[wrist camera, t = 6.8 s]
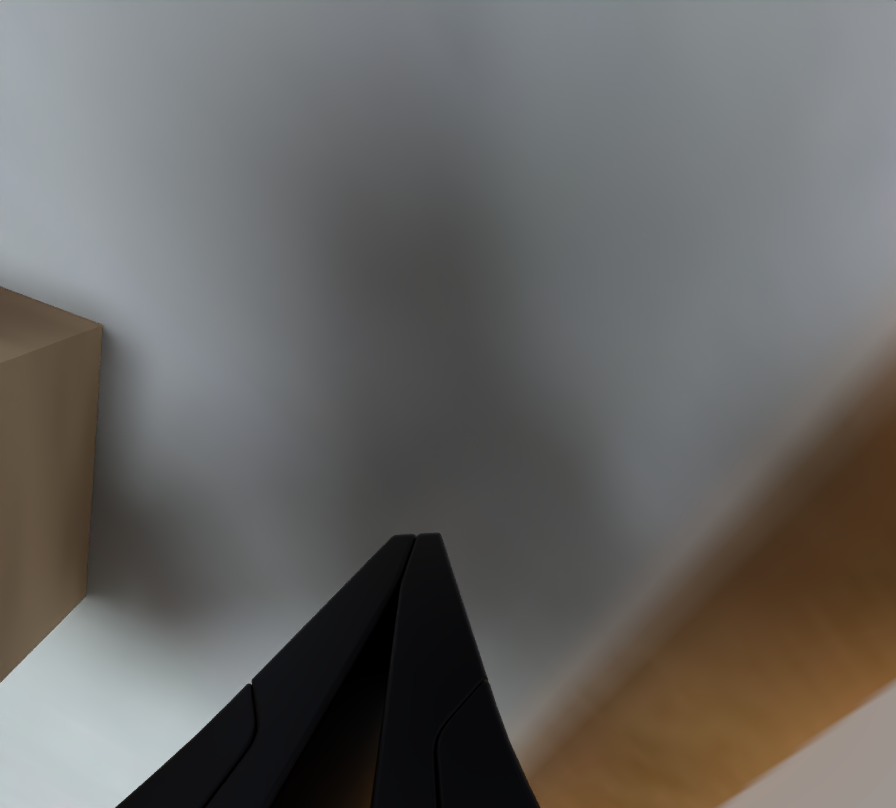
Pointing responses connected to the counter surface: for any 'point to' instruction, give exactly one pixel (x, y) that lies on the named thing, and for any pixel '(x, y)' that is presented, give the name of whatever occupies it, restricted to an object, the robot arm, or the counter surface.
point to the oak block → (44, 467)
